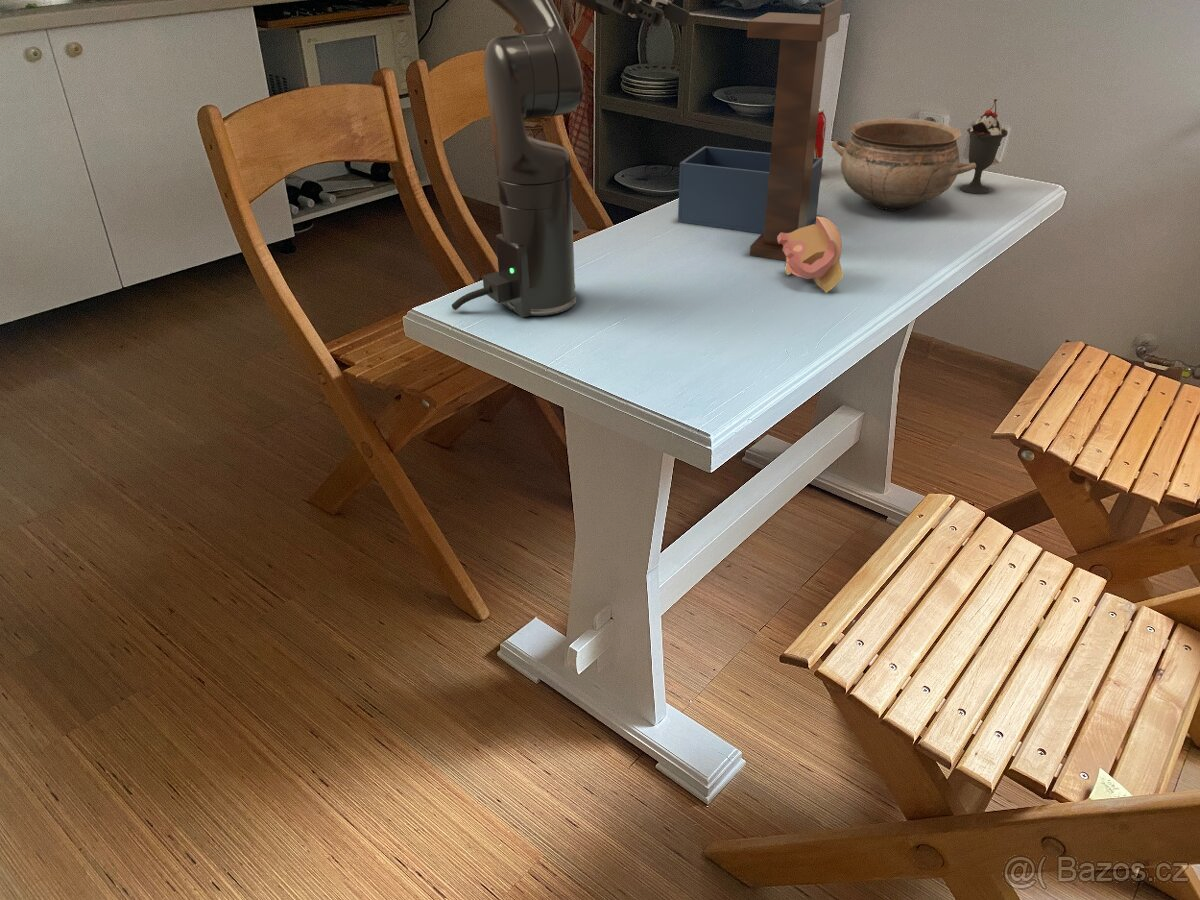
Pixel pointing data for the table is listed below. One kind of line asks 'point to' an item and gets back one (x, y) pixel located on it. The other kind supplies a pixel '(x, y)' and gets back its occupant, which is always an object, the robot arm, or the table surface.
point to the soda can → (820, 134)
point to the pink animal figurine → (814, 253)
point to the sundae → (983, 147)
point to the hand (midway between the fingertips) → (674, 19)
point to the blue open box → (732, 189)
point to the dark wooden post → (793, 117)
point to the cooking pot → (900, 161)
